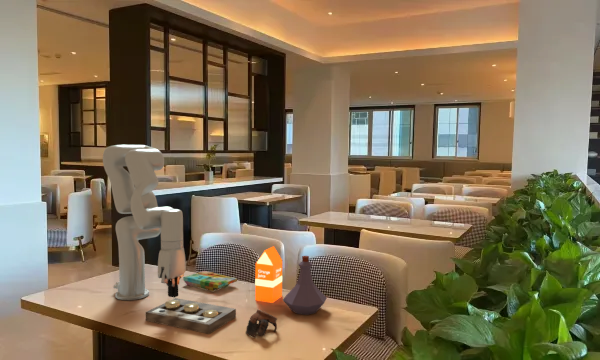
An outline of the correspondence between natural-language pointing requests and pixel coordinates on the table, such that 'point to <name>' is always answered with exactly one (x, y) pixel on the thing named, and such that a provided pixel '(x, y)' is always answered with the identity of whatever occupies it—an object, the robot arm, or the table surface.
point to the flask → (305, 292)
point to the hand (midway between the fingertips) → (173, 296)
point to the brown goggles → (260, 323)
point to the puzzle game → (208, 280)
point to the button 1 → (172, 305)
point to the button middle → (191, 308)
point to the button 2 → (210, 313)
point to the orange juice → (268, 276)
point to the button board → (191, 316)
